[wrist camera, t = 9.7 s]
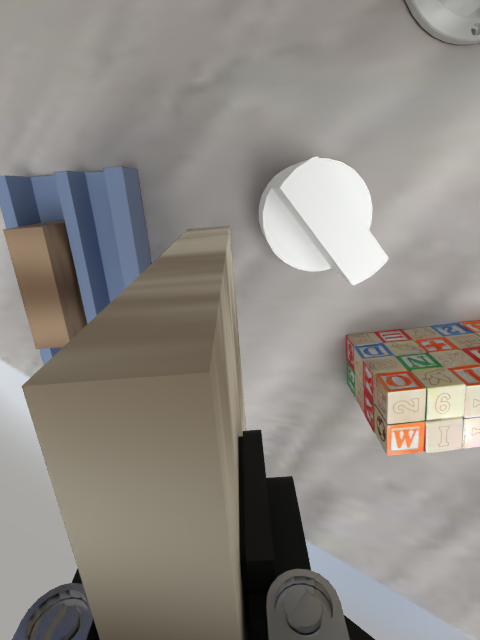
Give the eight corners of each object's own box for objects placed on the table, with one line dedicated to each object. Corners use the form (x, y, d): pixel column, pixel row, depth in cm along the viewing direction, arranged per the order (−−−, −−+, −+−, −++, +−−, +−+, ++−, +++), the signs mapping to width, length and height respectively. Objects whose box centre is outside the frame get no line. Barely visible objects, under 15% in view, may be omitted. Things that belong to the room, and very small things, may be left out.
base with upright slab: (239, 206, 36) (241, 215, 25) (315, 140, 34) (354, 118, 23) (295, 276, 39) (320, 314, 27) (368, 219, 37) (428, 233, 25)
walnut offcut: (46, 221, 35) (3, 229, 29) (78, 219, 35) (42, 226, 29) (69, 321, 39) (36, 349, 32) (98, 319, 39) (70, 346, 32)
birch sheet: (188, 229, 18) (21, 385, 4) (229, 225, 18) (209, 373, 4) (212, 437, 22) (173, 878, 8) (246, 434, 22) (266, 874, 8)
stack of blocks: (543, 310, 40) (669, 360, 29) (535, 363, 42) (649, 429, 31) (344, 334, 41) (387, 393, 29) (345, 385, 43) (387, 458, 31)
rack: (25, 178, 35) (-8, 176, 30) (137, 169, 35) (121, 166, 30) (68, 353, 41) (46, 375, 36) (163, 347, 41) (154, 367, 36)
